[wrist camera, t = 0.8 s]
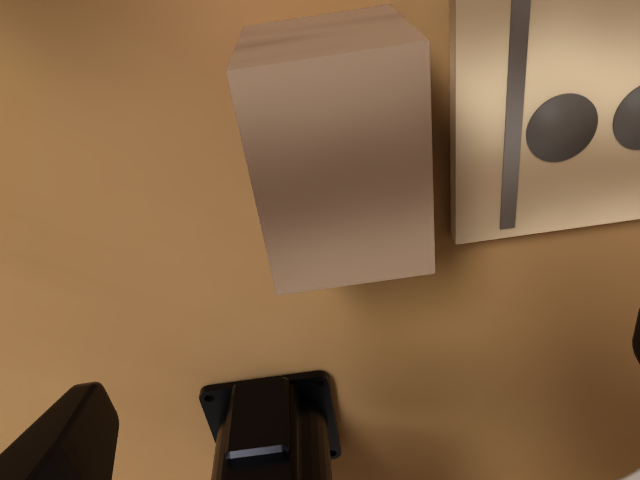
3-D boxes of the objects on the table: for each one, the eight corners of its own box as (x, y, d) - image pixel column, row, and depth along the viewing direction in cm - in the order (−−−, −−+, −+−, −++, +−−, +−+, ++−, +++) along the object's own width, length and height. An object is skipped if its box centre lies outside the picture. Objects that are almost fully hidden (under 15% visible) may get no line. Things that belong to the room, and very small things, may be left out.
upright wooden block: (400, 187, 22) (434, 273, 17) (279, 205, 22) (276, 295, 17) (389, 3, 18) (429, 40, 13) (243, 26, 18) (225, 71, 13)
